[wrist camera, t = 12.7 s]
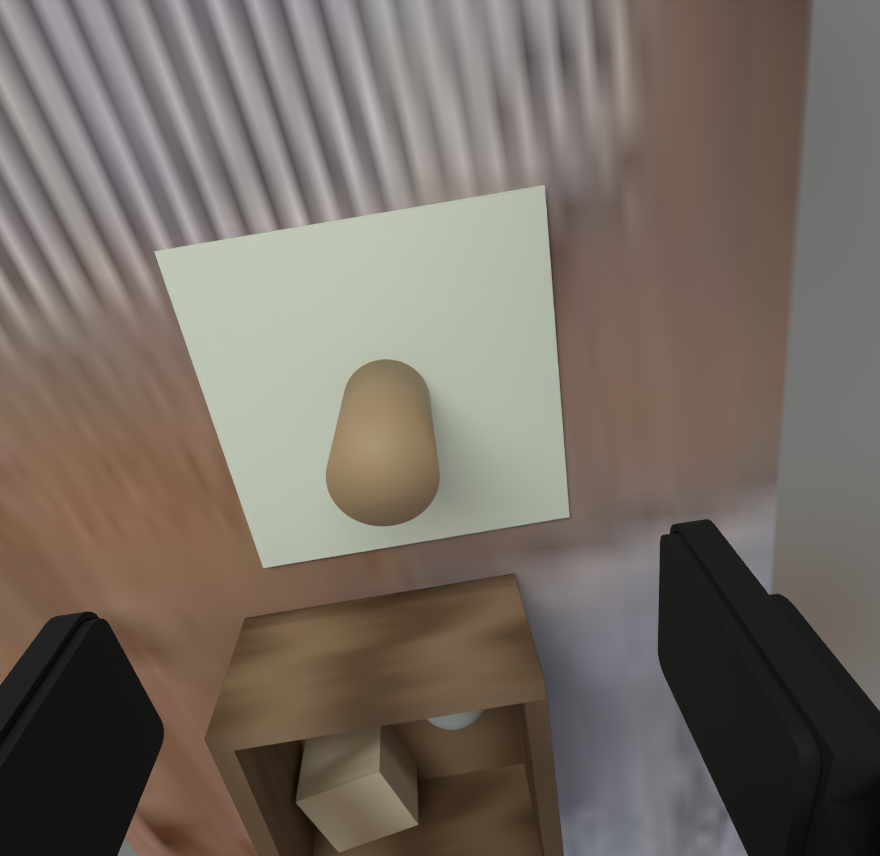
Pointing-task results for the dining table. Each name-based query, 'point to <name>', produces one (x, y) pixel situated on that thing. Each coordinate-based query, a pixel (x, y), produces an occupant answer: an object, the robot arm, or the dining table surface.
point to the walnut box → (396, 718)
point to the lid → (381, 373)
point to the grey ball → (456, 720)
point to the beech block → (358, 786)
